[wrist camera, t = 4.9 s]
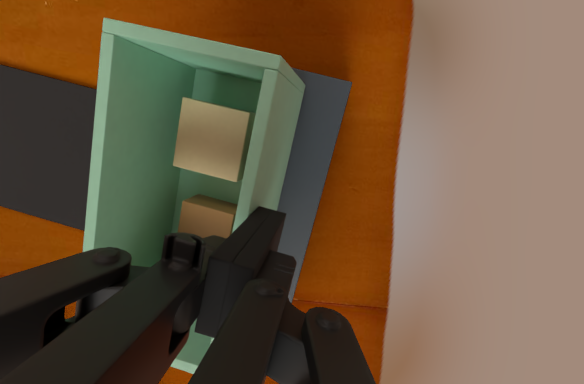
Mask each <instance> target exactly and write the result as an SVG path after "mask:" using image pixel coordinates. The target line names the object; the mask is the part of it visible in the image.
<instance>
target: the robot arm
mask: <svg viewBox="0 0 584 384" xmlns="http://www.w3.org/2000/svg"><path fill="white" fill-rule="evenodd" d="M286 214H287V213H283V212H279V211H276V210H272V209H268V208H265V207H261V206H259V207H258V208H257V209H256V210H255V211H254V212H253V213H252V214H251V215H250V216H249V217H248V218H247V219H246V220H245V221H244V222H243V223H242V224H241V225H240V226H239V227H238V228H237V229H236V230H235V231H234V232H233V233H232V234H231V235H230V236H229V237H228V238H227V239H226V238H223V237H219V236H216V235H212V236H208V237H205V238H202V237H200V236H198V235H195V234H191V233H184V232H176V233H169V234H167V235H165V237H164V244H163V250H162V256H161V260H159V261H158V262H157V263H155V264H154V265H153V266H151V267H142V266H132V265H131V260H132V257H131V254H130V253H128V252H127V251H125V250H122V249H119V248H115V247H114V248H113V247H106V248H97V249H92V250H89V251H85V252H82V253H79V254H76V255H73V256H69V257H66V258H63V259H60V260H57V261H53V262H50V263H47V264H44V265H41V266H37V267H34V268H31V269H28V270H25V271H21V272H18V273H15V274H12V275H9V276H5V277H2V278H0V384H158V383H159V381H160V380H161V378H162V377H163V376H164V374H165V373H166V371H167V370H168V368H169V367H170V366H171V364H172V363H173V361H174V360H175V358H176V357H177V355H178V354H179V353H180V351H181V350H182V348H183V347H184V345H185V344H186V343H187V340H188V338H189V333H190V328H191V326H192V324H193V323H194V321H195V320H196V319H197V321H196V326H195V331H194V332H196V333H199V334H202V335H206V336H209V337H212V338H214V340H213V341H212V343H211V345H210V346H209V348H208V350H207V352H206V353H205V355H204V357H203V359H202V360H201V362H200V364H199V365H198V367H197V369H196V371H195V372H194V374H193V376H192V377H191V379H190V381H189V383H188V384H264V382H265V378H266V375H267V376H268V377H270V378H272V379H273V380H275V381H276V382H278V383H279V384H376V383H375V381H374V378H373V376H372V374H371V371H370V369H369V367H368V364H367V362H366V360H365V357H364V355H363V353H362V350H361V348H360V346H359V343H358V341H357V339H356V336H355V334H354V332H353V329H352V327H351V325H350V323H349V322H348V320H347V319H346V318H345V317H344V316H342V315H341V314H340V313H338V312H337V311H335V310H332V309H328V308H324V307H315V308H312V309H309V310H308V312H307V313H306V314H305V313H303V312H302V311H300V310H298V309H297V308H296V307H294V306H293V305H292V304H291V302H290V301H289V298H288V295H289V291H290V287H291V284H292V280H293V276H294V272H295V268H296V265H297V262H296V260H295V258H294V256H290V255H287V254H283V253H280V252H277V251H278V247H279V243H280V238H281V234H282V230H283V226H284V222H285V218H286ZM75 301H77V302H76V312H75V316H73V317H71V318H69V319H65V318H64V313H65V306H66V305H68V304H71V303H73V302H75Z"/></svg>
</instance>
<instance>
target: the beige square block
mask: <svg viewBox="0 0 584 384" xmlns="http://www.w3.org/2000/svg"><path fill="white" fill-rule="evenodd" d="M255 115H256V113H253V112H249V111H245V110H241V109H236V108H232V107H228V106H224V105H219V104H215V103H211V102H206V101H201V100H196V99H192V98H187V97H183V98H182V105H181V112H180V119H179V126H178V133H177V140H176V147H175V153H174V160H173V166H176V167H179V168H183V169H187V170H191V171H195V172H199V173H202V174H206V175H210V176H214V177H218V178H222V179H225V180H229V181H233V182H238V181H240V180H242V179H243V175H244V170H245V165H246V160H247V155H248V150H249V145H250V140H251V135H252V130H253V125H254V120H255Z"/></svg>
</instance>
